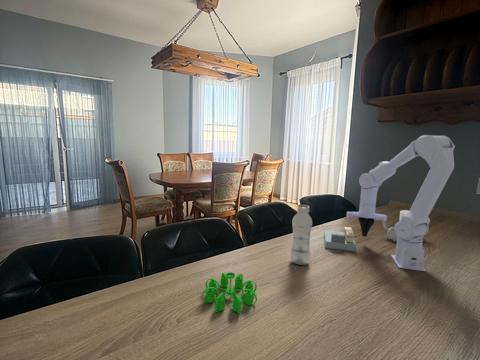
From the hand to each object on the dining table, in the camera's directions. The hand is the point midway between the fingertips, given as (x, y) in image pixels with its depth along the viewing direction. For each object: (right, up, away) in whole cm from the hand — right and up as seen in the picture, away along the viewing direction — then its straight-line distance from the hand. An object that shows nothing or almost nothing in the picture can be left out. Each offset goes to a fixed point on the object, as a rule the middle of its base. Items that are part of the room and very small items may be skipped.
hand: (364, 235), depth 106 cm
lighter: (+14, -3, +7) cm, 16 cm away
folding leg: (-7, -1, -1) cm, 7 cm away
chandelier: (-53, -9, -37) cm, 65 cm away
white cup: (+26, -2, +13) cm, 29 cm away
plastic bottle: (-30, -6, -17) cm, 35 cm away
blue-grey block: (-10, -3, +1) cm, 11 cm away
